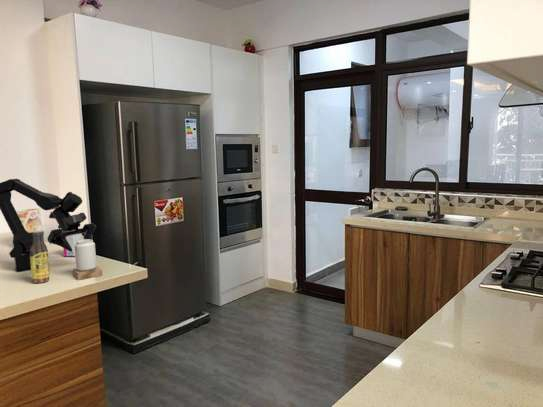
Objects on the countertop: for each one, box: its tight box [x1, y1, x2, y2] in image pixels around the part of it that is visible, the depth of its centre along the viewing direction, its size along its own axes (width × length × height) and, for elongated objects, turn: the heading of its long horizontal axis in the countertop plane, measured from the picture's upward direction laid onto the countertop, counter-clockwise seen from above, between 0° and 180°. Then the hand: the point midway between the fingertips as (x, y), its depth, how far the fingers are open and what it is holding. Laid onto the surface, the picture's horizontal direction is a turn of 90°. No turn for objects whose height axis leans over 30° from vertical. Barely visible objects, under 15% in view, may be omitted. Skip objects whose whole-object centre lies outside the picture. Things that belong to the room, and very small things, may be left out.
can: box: [74, 238, 98, 271], centre depth 170 cm, size 8×8×12 cm
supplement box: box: [62, 234, 81, 258], centre depth 205 cm, size 6×6×12 cm
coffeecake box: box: [16, 208, 43, 233], centre depth 230 cm, size 15×7×20 cm, turn 179°
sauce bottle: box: [30, 230, 50, 284], centre depth 163 cm, size 6×6×20 cm
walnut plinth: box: [72, 265, 103, 281], centre depth 171 cm, size 9×9×2 cm
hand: (82, 248), depth 171 cm, fingers open, 9 cm apart
